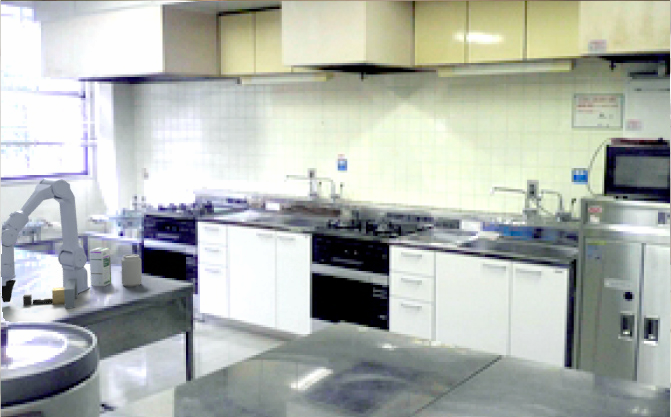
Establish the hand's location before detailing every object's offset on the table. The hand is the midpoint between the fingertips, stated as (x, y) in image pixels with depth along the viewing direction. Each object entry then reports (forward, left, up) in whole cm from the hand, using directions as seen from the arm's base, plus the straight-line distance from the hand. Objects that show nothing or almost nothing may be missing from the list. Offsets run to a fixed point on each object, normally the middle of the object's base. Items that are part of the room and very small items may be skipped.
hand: (6, 301), depth 231 cm
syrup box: (-36, +16, -2) cm, 39 cm away
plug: (-5, +11, -1) cm, 12 cm away
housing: (-9, +19, -1) cm, 21 cm away
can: (-38, +28, -2) cm, 47 cm away
